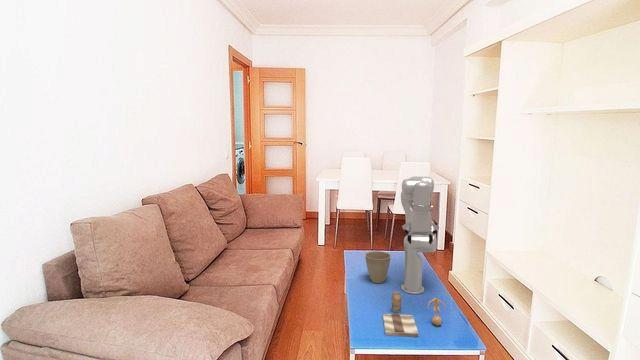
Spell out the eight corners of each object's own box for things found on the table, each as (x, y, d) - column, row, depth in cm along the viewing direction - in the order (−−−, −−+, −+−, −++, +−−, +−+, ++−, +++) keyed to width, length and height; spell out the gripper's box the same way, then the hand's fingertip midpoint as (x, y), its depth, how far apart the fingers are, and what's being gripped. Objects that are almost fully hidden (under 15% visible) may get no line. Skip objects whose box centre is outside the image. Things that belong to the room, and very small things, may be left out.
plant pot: (388, 276, 220) (389, 251, 218) (391, 286, 206) (391, 259, 203) (364, 275, 222) (364, 250, 220) (364, 285, 207) (365, 258, 205)
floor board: (382, 316, 172) (382, 313, 172) (412, 318, 171) (412, 314, 171) (385, 335, 156) (385, 331, 156) (418, 337, 155) (418, 333, 155)
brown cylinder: (391, 308, 180) (391, 291, 179) (400, 309, 179) (400, 292, 178) (392, 313, 175) (392, 295, 174) (401, 313, 175) (401, 296, 174)
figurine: (429, 327, 163) (430, 302, 161) (425, 320, 169) (426, 296, 167) (447, 327, 163) (448, 302, 161) (442, 320, 169) (443, 296, 167)
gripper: (437, 207, 174) (436, 241, 176) (401, 206, 176) (400, 240, 178) (441, 210, 167) (440, 245, 169) (404, 209, 168) (403, 245, 170)
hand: (419, 243), depth 173 cm, fingers open, 9 cm apart
